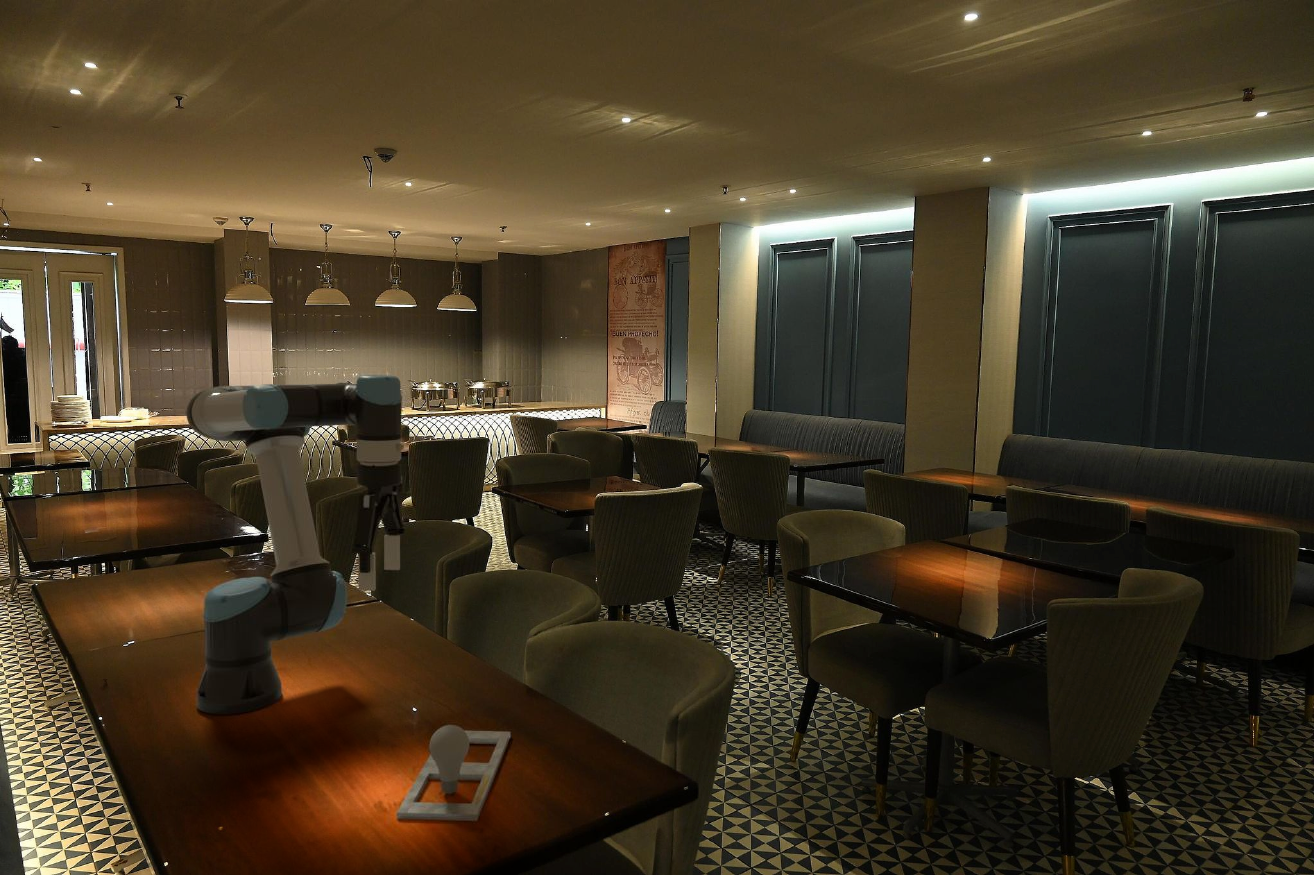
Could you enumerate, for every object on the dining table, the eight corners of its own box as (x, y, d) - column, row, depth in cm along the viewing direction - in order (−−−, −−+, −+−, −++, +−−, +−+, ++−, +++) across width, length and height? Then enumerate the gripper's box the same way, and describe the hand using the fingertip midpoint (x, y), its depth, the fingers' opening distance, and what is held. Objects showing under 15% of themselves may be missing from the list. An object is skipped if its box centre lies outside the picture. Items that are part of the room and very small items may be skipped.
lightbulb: (433, 784, 139) (433, 718, 138) (471, 783, 139) (471, 718, 138) (426, 803, 133) (425, 735, 132) (466, 803, 133) (466, 734, 132)
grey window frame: (396, 818, 128) (396, 812, 128) (444, 735, 156) (444, 729, 156) (476, 820, 128) (476, 814, 128) (510, 736, 156) (510, 731, 156)
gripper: (376, 473, 140) (377, 600, 142) (420, 454, 165) (420, 562, 167) (331, 472, 140) (332, 598, 142) (381, 453, 165) (382, 561, 167)
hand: (380, 579), depth 155 cm, fingers open, 13 cm apart
